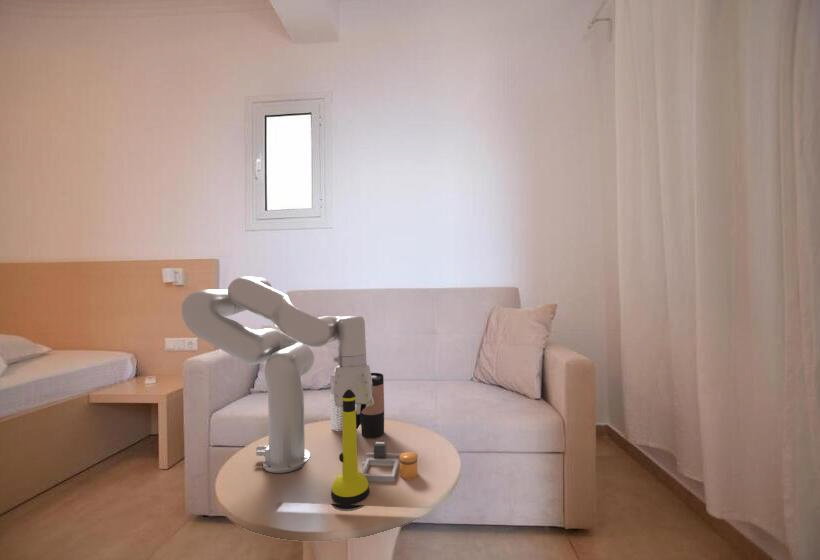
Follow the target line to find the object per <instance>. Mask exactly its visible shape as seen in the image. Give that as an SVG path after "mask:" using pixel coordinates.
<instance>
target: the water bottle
mask: <svg viewBox="0 0 820 560" xmlns="http://www.w3.org/2000/svg"><path fill="white" fill-rule="evenodd" d="M337 366H339V365H338V362H334V364H333V365H332V366H331V368H330V369H329V376H330V378H329V379H330V383H329V384H330V394H329V396H330V397H329V398H330V408H329V409H330V430H331V431H335V432H343V408H341V407H337V406H335V401H334V382H335V371H336V367H337ZM336 396H337V395H336Z"/></svg>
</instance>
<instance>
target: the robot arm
mask: <svg viewBox="0 0 820 560" xmlns="http://www.w3.org/2000/svg"><path fill="white" fill-rule="evenodd" d="M245 311H249V312H251V313H254V314H255V315H257V316H260V317H261V318H264V319H266V320H267V321H269V322H271V323H273V324H274V325H275V327H276V328H277V329H275V328H269V327H268V328H267V327H266V328H259V329H252V328H249V327H248V326H245V325H243V324H242V323H239V322H238V321H236V320H233V319H231V318H228V317H229V316H232V315H236V314H239V313H241V312H245ZM181 316H182V320H183V322H184V324H185V326H186V328H187V329H188V330H189V331H190V332H191V333H192V334H193V335H195V336H196V337H198V338H199V339H201V340H202V341H205V342H207V343H209V344H211V345H212V346H214V347H216V348H218V349H220V350H221V351H223V352H225V353H227V354H229V355H230V356H232V357H235V358H236V359H238V360H239V361H241V362H243V363H245V364H247V365H251V366H253V365H258V364H261V363H264V362H265V365H264V379H265V383H266V389H267V407H268V408H267V409H268V411H267V412H268V416H267V417H268V445H265V444H258V445H257V446H256V450H255V451H256V452H255V455H256V457H257V456H258V457H259V456H260V457H264V459H263V461H262V468H263V469H264V470H265V471H266V472H269V473H274V474H285V473H289V472H294V471H297V470H300V469H302V468H303V467H304V466H305V465H306V464H307V462H308V461H309V460H310V458H311V452H310V451H309V450H308V449H306V448H305V447H306V444H305V441H306V440H305V436H306V435H305V395H304V394H305V393H304V387H303V384H302V377H303V375H305V374H306V373H308V372H309V371H310V370H311V369H312V368H313V366H314V363H315V355H314V352H313V351H312V349H311V348H310V347H312V348H313V347H315V348H320V347H323V346H325V345H327V344H330V343H332V342H335V341H337V344H338V345H337V346H338V355H337V356H334V357H333V362H334V363H336V362H338V365H339V366H337V367H336V371H335V382H334V401H335V406H337V407H341V408H343V400H342V396H343V395H344V393H345V392H346V391H347V390H351V391H352V392H353V393H354V394H355V396H356V399H355V407H356V430H359V429H358V428H359V427H360V426H361V412H362V410H363V409H364V408H365V407H369V406H373V404H374V400H373V385H372V377H371V373H372V371H371V368H370V364H368V363H367V362H368V361H367V341H366V322H365V318H364V317H363V316H361V315H346V316H345V315H344V316H337V315H336V316H335V315H324V316H319V317H315V316H314V315H311V314H309V313H307V312H304V311H303V310H301V309H299V308H297V307H296V306H294V304H292V301H291V298H290V296H289V295H288V294H286V293H284V292H282V291H279V290H277V289H276V288H273V286H272V284H271V283H270V282H269V281H268V279H265V278H263V277H258V276H257V277H256V276H240V277H237V278H235V279H233V280H232V281H231V282H230V283H229V285H228V287H227V288H225V289H223V288H222V289H220V288H219V289H215V288H214V289H200V290H196V291H193V292H191V293H189V294H188V295H187V296H186V297H185V298H184V300H183V301H182V303H181ZM309 346H310V347H309ZM336 395H337V396H336Z"/></svg>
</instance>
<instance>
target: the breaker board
mask: <svg viewBox="0 0 820 560" xmlns="http://www.w3.org/2000/svg"><path fill="white" fill-rule="evenodd" d="M400 454H402V453H400V452H398V453H397V452H387V457H396V458H386V459H376V458H374V452H367V453H366V456H367V458H366V459H365V461H362V465H363V467H362V468H361V471H360V472H361V473H363V474H364V475H365V477H366V479H367V481H368V482H381V483H382V482H383V483H384V482H385V483H395V480H396V476H397V474H398V473H397V472H398V468H399V466H400ZM371 457H372V458H371ZM397 457H399V458H397ZM369 466H381V467H383V466H386V467H393V468H392V471H391V474H387V473H386V474H385V473H367V472H368V469H369Z"/></svg>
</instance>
